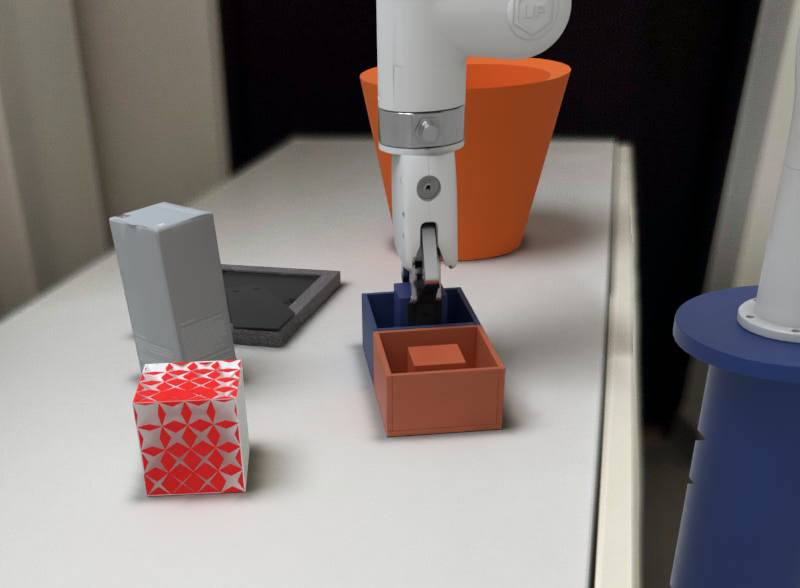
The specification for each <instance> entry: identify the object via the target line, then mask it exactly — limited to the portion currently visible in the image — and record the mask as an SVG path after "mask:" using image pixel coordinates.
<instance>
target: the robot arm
mask: <svg viewBox="0 0 800 588" xmlns="http://www.w3.org/2000/svg"><path fill="white" fill-rule="evenodd" d="M375 3H376V4H375V6H376V7H375V8H376V9H375V10H376V50H377V51H376V54H377V56H376V60H377V61H376V62H377V66H376V67H378V136H379V150H381V151H384V152H386V153H390V154H392V218H393V224H392V233H393V242H394V247H395V250H396V253H397V255H398V258H399V260H400V262H401V270H400V271H401V276H400V277H401V283H406V282H410V301H407V327H408V326H423V325H438V324H442V300H441V284H442V268H441V264H442V263H441V261H442V262H443V264H444V265H445V267H448V268H449V269H450V270H453V269H455V268H456V266H458V264H459V260H458V237H457V180H456V164H455V154H454V151H455V150H458V149H460V148H462V147H463V146H464V135H465V94H466V63H467V58H468V57H483V58H497V59H509V60H518V59H526V58H534V57H535V56H537V55H540V54H542V53H544V52H545V51H546V50H548V49H549V48H550V47H552V46H553V45H554V44H555V43H556V42H557V41H558V39H560V37H561V36H562V34H563V33H564V31H565V29H566V27H567V25H568V23H569V21H570V17H571V11H572V0H375ZM794 62H795V64H794V92H793V93H794V95H793V105H792V113H791V121H790V128H789V132H788V138H787V144H786V149H785V154H784V159H783V162H782V167H781V172H780V178H779V182H778V187H777V192H776V196H775V202H774V206H773V212H772V217H771V222H770V227H769V232H768V237H767V242H766V248H765V252H764V258H763V263H762V267H761V273H760V277H759V282H758V285H759V287H758V292H757V297H756V298H753V299H750V300H748V301H746V302H744V303H743V304H742V305H741V306H740V307H739V309H738V314H737V321H738V323H739V324H740V325H741V326H742V327H743V328H744V329H746V330H748V331H749V332H752V333H754V334H756V335H759V336H762V337H765V338H769V339H773V340H778V341H784V342H790V343H800V28H799V29H798V35H797V38H796V45H795V61H794ZM440 256H441V258H442V260H440ZM417 282H418V283H417Z"/></svg>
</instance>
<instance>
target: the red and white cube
mask: <svg viewBox="0 0 800 588" xmlns="http://www.w3.org/2000/svg"><path fill="white" fill-rule="evenodd" d="M244 381H245V380H244V370H243V359H236V360H220V361H199V362H177V363H156V364H145V366H144V369H143V372H142V374H141V375H140V378H139V381H138V385H137V388H136V391H135V394H134V397H133V400H132V409H133V415H134V420H135V427H136V435H137V440H138V446H139V452H140V460H141V466H142V472H143V473H142V474H143V478H144V479H143V480H144V484H145V492H146V496H147V497H157V496H159V497H160V496H179V495H180V496H181V495H201V494H203V495H204V494H222V493H223V494H225V493H246V492H247V481H248V472H249V471H248V470H249V459H250V449H251V447H250V438H249V423H248V413H247V403H246V391H245V382H244Z"/></svg>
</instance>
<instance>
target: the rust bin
mask: <svg viewBox="0 0 800 588" xmlns="http://www.w3.org/2000/svg"><path fill="white" fill-rule="evenodd" d="M447 344H458V347H459V349H460V351H461V353H462V355H463V357H464V359H465V361H466V369H455V370H440V371H425V372H410V373H408V347H417V346H432V345H447ZM373 367H374V387H373V391H374V394H375V398H376V401H377V405H378V408H379V412H380V417H381V420H382V423H383V427H384V431H385V435H386V437H387V438H389V437H401V436H402V437H403V436H416V435H417V436H419V435H430V434H432V435H433V434H434V435H435V434H446V433H447V434H448V433H461V432H476V431H490V430H491V431H492V430H502V429H503V428H502V427H503V416H504V415H503V413H504V396H505V382H506V366H505V365H504V363H503V362H502V359H501V358H500V356H499V354H498V352H497V350H496V349H495V347H494V345H493V343H492V341H491V339H490V338H489V336H488V334H487V332H486V331H485V328H484V327H483V325H482V323H481V324H479V325H464V326H449V327H434V328H418V329H403V330H388V331H379V332H378V331H373Z"/></svg>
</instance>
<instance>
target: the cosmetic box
mask: <svg viewBox="0 0 800 588" xmlns="http://www.w3.org/2000/svg"><path fill="white" fill-rule="evenodd" d="M108 221H109V222H108V223H109V227H110V231H111V236H112V240H113V245H114V249H115V254H116V259H117V264H118V269H119V274H120V277H121V282H122V287H123V291H124V297H125V302H126V307H127V311H128V315H129V320H130V326H131V330H132V335H133V340H134V344H135V350H136V355H137V358H138V359H137V360H138V363H139V369H140V373H141V375H142V372H143V369H144V366H145V364H156V363H177V362H199V361H220V360H237V356H236V350H235V344H234V343H233V337H232V331H231V324H230V318H229V312H228V305H227V299H226V293H225V287H224V281H223V274H222V268H221V264H222V263H221V256H220V250H219V244H218V237H217V231H216V224H215V218H214V212H212V211H207V210H202V209H199V208H193V207H188V206H184V205H180V204H175V203H170V202H167V201H162V202H159V203H154V204H152V205H151V204H150V205H149V206H145V207H142V208H138V209H135V210H132V211H128V212H124V213H121V214H118V215H115V216H111V217H109V218H108Z"/></svg>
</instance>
